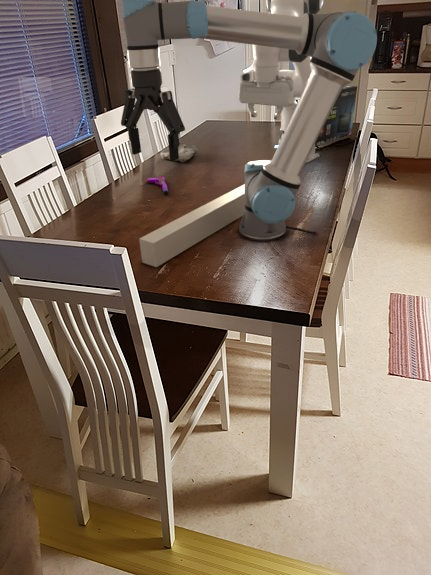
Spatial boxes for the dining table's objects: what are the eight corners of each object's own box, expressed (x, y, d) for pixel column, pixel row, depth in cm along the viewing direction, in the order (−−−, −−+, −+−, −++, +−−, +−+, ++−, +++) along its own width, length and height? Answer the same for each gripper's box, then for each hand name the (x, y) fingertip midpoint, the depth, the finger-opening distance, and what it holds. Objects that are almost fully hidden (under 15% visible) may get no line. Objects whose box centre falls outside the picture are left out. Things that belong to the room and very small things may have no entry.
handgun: (147, 181, 199) (146, 177, 198) (164, 179, 200) (164, 175, 199) (150, 197, 182) (149, 192, 181) (169, 195, 183) (169, 190, 182)
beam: (156, 267, 131) (153, 243, 127) (142, 262, 134) (139, 238, 130) (279, 193, 180) (280, 174, 177) (266, 191, 183) (267, 172, 179)
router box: (314, 151, 231) (318, 94, 217) (296, 148, 237) (299, 92, 224) (352, 138, 251) (358, 85, 238) (335, 135, 258) (340, 83, 245)
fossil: (184, 156, 217) (163, 136, 220) (174, 174, 223) (154, 154, 227) (205, 153, 231) (186, 134, 234) (195, 171, 237) (176, 152, 240)
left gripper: (195, 68, 107) (200, 158, 118) (120, 65, 120) (131, 147, 131) (174, 72, 102) (182, 166, 113) (98, 69, 115) (112, 154, 126)
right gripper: (298, 75, 151) (295, 119, 158) (245, 72, 162) (246, 114, 169) (288, 77, 147) (287, 122, 154) (235, 75, 157) (236, 117, 165)
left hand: (155, 156), depth 122 cm, fingers open, 13 cm apart
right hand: (265, 118), depth 162 cm, fingers open, 8 cm apart
